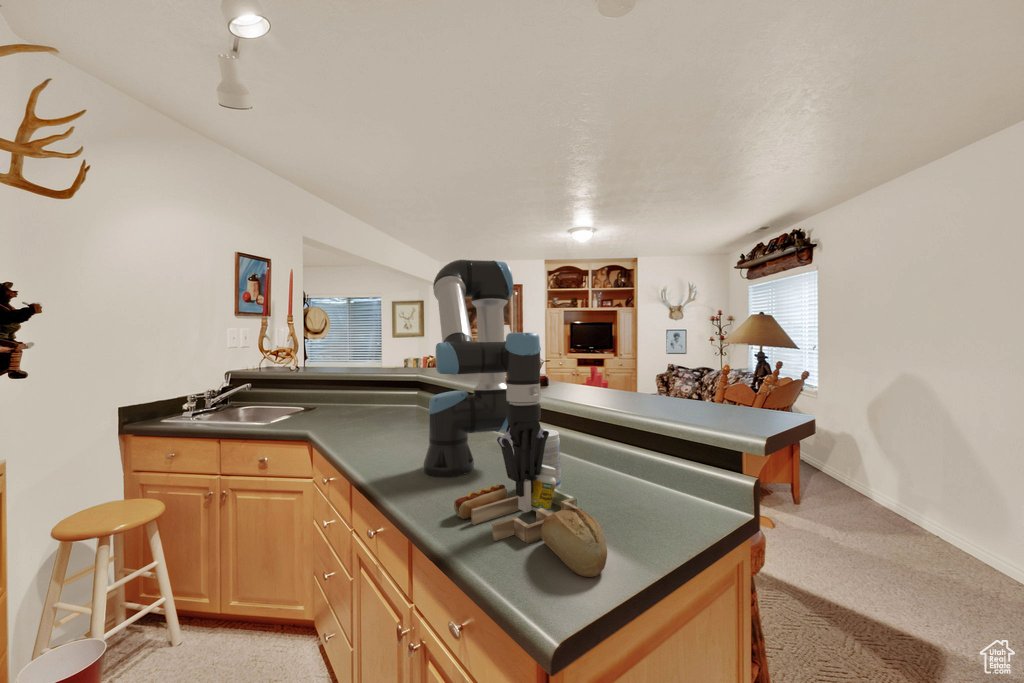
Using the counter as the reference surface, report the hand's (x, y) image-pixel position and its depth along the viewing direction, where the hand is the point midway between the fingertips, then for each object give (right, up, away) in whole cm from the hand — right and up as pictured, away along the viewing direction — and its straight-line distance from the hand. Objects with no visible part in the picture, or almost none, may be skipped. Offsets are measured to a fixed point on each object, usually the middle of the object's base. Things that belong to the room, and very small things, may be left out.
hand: (524, 509), depth 87 cm
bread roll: (+8, -2, -16) cm, 18 cm away
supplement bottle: (+3, -1, +2) cm, 4 cm away
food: (-10, -2, +4) cm, 11 cm away
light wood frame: (+2, -2, -2) cm, 3 cm away
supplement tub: (+5, -2, +17) cm, 18 cm away
